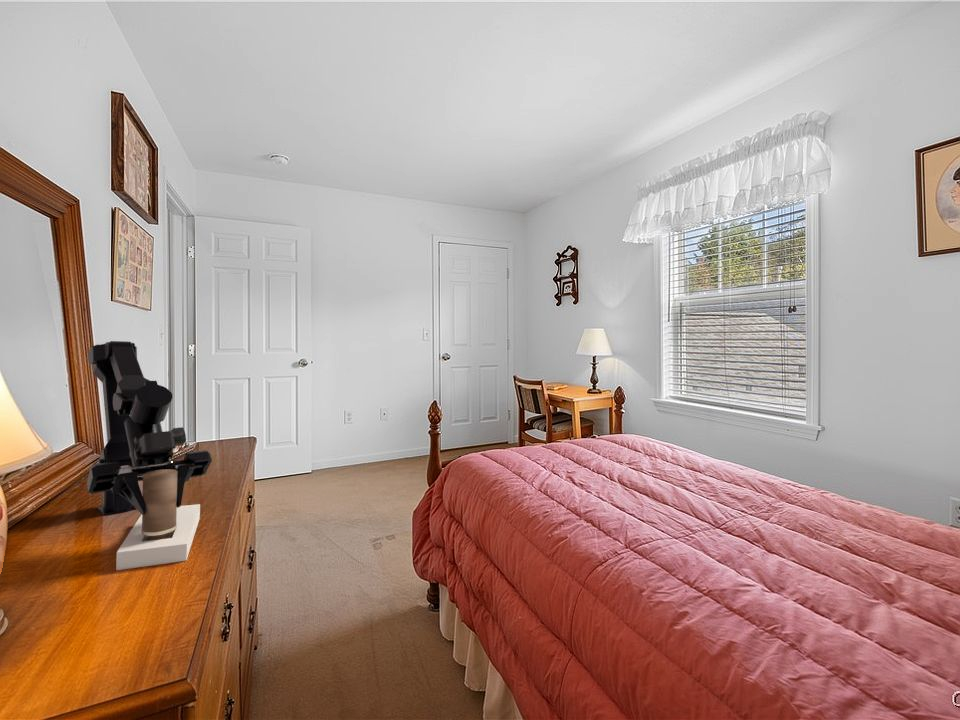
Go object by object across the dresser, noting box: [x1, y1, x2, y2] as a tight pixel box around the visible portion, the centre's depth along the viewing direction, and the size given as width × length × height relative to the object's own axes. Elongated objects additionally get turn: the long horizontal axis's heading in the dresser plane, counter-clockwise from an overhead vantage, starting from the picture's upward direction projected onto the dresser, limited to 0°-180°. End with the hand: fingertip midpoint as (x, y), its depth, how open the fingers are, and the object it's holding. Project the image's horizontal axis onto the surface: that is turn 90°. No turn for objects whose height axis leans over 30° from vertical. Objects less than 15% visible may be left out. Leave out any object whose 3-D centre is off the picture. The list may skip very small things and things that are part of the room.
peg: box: [142, 469, 177, 541], centre depth 86 cm, size 5×5×13 cm
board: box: [115, 503, 201, 571], centre depth 90 cm, size 22×10×3 cm, turn 26°
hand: (161, 509), depth 85 cm, fingers closed on peg, 5 cm apart
